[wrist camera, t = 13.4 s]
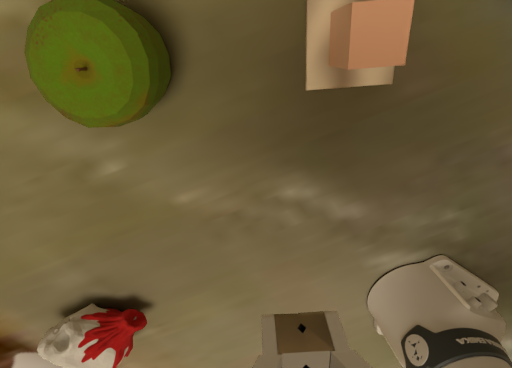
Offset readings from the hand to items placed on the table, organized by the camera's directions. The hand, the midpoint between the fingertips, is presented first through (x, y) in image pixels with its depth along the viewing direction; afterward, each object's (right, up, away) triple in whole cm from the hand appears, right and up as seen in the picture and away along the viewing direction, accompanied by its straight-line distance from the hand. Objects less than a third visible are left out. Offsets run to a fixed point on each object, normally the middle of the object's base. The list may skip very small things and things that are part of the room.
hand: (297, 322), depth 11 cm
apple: (-16, +19, +20) cm, 32 cm away
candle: (-27, -17, +37) cm, 49 cm away
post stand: (+9, +22, +20) cm, 30 cm away
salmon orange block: (+9, +21, +19) cm, 30 cm away
